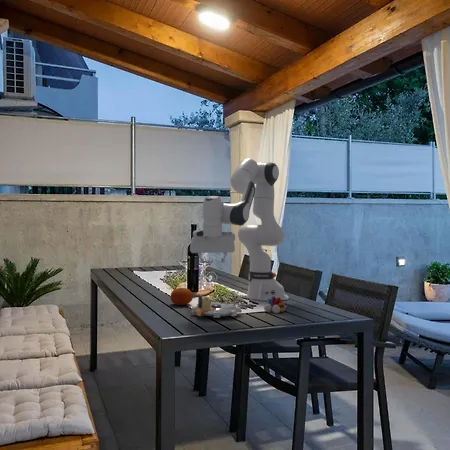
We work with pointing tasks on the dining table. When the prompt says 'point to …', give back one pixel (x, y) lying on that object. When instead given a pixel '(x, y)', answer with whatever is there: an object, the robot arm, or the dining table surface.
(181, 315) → the dining table surface
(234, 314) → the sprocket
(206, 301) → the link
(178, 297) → the fruit
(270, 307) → the multicoloured rounded cluster
